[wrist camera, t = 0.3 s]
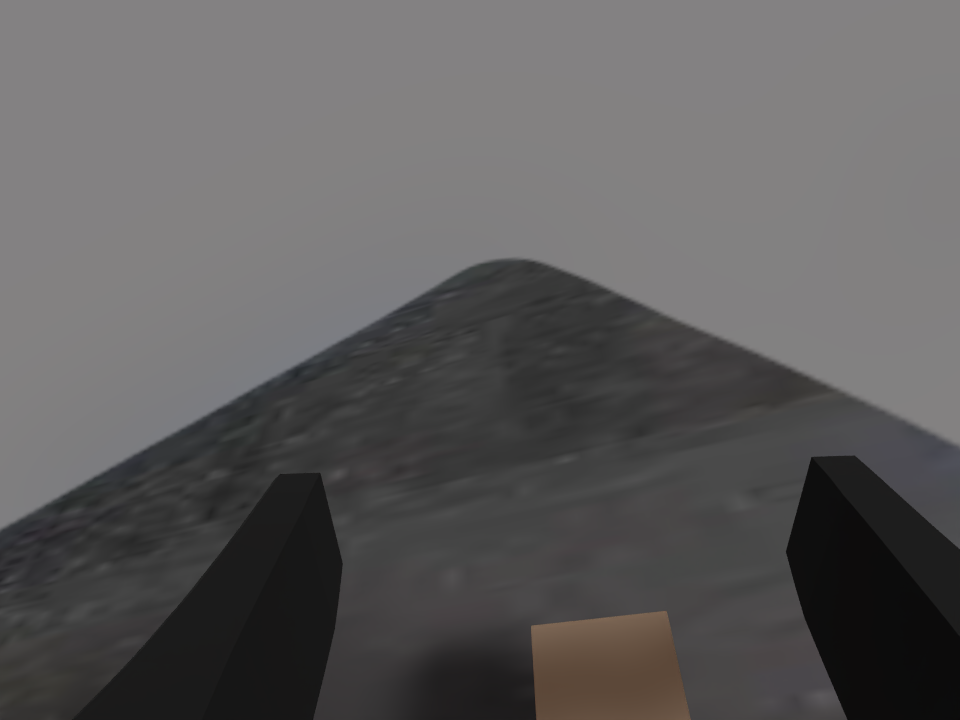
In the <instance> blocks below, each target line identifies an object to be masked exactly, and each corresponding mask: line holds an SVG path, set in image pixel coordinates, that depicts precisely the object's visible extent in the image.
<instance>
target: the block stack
mask: <svg viewBox="0 0 960 720" xmlns="http://www.w3.org/2000/svg"><path fill="white" fill-rule="evenodd" d="M531 635H532V652H533V670H534V687H535V705H536V720H690V715H689V711H688V706H687V701H686V697H685V692H684V688H683V683H682V679H681V674H680V670H679V665H678V660H677V656H676V651H675V647H674V642H673V638H672V633H671V629H670V624H669V619H668V615H667V611H662V612H653V613H643V614H634V615H625V616H616V617H607V618H598V619H589V620H580V621H571V622H562V623H552V624H543V625H534V626H531Z"/></svg>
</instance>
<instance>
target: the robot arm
mask: <svg viewBox="0 0 960 720" xmlns="http://www.w3.org/2000/svg"><path fill="white" fill-rule="evenodd" d="M786 554H787V557H788V561H789V565H790V568H791V572H792V576H793V580H794V583H795V587H796V590H797V594H798V597H799V601H800V604H801V607H802V611H803V614H804V617H805V620H806V622H807V625H808V627H809V630H810V632H811V635H812V637H813V639H814V642H815V644H816V647H817V649H818V651H819V654H820V656H821V658H822V661H823V663H824V666H825V668H826V670H827V673H828V675H829V677H830V680H831V682H832V684H833V687H834V689H835V691H836V694H837V696H838V699H839V701H840V703H841V706H842V708H843V710H844V713H845V715H846V717H847V720H960V549H959V548H957V547H956V546H955V545H954V544H953V543H952V542H951V541H949V540H948V539H947V538H946V537H945V536H944V535H943V534H942V533H940V532H939V531H938V530H937V529H936V528H935V527H934V526H933V525H931V524H930V523H929V522H928V521H927V520H926V519H925V518H924V517H922V516H921V515H920V514H919V513H918V512H917V511H916V510H915V509H914V508H912V507H911V506H910V505H909V504H908V503H907V502H906V501H905V500H904V499H903V498H901V497H900V496H899V495H898V494H897V493H896V492H895V491H894V490H893V489H891V488H890V487H889V486H888V485H887V484H886V483H885V482H884V481H883V480H882V479H880V478H879V477H878V476H877V475H876V474H875V473H874V472H873V471H872V470H870V469H869V468H868V467H867V466H866V465H865V464H864V463H863V462H861V461H860V460H859V459H858V458H857V457H856V456H827V457H811V461H810V465H809V468H808V472H807V476H806V480H805V483H804V487H803V491H802V494H801V498H800V502H799V505H798V509H797V513H796V516H795V520H794V524H793V528H792V531H791V535H790V539H789V542H788V546H787V550H786ZM342 565H343V563H342V559H341V555H340V551H339V547H338V543H337V538H336V534H335V530H334V526H333V522H332V518H331V514H330V510H329V506H328V502H327V498H326V494H325V490H324V486H323V482H322V478H321V474H320V473H301V474H280V475H279V476H278V477H277V478H276V479H275V480H274V481H273V483H272V484H271V485H270V487H269V488H268V489H267V491H266V492H265V494H264V495H263V496H262V498H261V499H260V500H259V502H258V503H257V505H256V506H255V507H254V509H253V510H252V512H251V513H250V514H249V516H248V517H247V518H246V520H245V521H244V522H243V524H242V525H241V527H240V528H239V529H238V531H237V532H236V533H235V534H234V536H233V537H232V538H231V540H230V541H229V542H228V544H227V545H226V546H225V548H224V549H223V550H222V552H221V553H220V554H219V556H218V557H217V558H216V559H215V561H214V562H213V563H212V564H211V566H210V567H209V568H208V569H207V571H206V572H205V573H204V574H203V576H202V577H201V578H200V580H199V581H198V582H197V583H196V585H195V586H194V587H193V588H192V590H191V591H190V592H189V593H188V595H187V596H186V597H185V598H184V599H183V601H182V602H181V603H180V604H179V605H178V606H177V608H176V609H175V610H174V611H173V612H172V613H171V615H170V616H169V617H168V618H167V619H166V620H165V621H164V623H163V624H162V625H161V626H160V627H159V628H158V630H157V631H156V632H155V633H154V634H153V635H152V636H151V638H150V639H149V640H148V641H147V642H146V643H145V645H144V646H143V647H142V648H141V649H140V650H139V651H138V652H137V653H136V655H135V656H134V657H133V658H132V659H131V660H130V661H129V662H128V663H127V664H126V665H125V666H124V667H123V669H122V670H121V671H120V672H119V673H118V674H117V675H116V676H115V677H114V678H113V679H112V680H111V681H110V682H109V683H108V684H107V685H106V686H105V687H104V688H103V689H102V690H101V691H100V692H99V693H98V694H97V695H96V696H95V697H94V698H93V699H92V700H91V701H90V702H89V703H88V704H87V705H86V706H85V707H84V708H83V709H82V710H81V711H80V712H79V713H78V714H77V715H76V716H75V717H74V718H73V719H72V720H313V717H314V713H315V709H316V705H317V701H318V697H319V693H320V689H321V685H322V680H323V676H324V672H325V668H326V664H327V660H328V655H329V651H330V647H331V643H332V638H333V634H334V630H335V623H336V616H337V608H338V600H339V592H340V583H341V574H342Z"/></svg>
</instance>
